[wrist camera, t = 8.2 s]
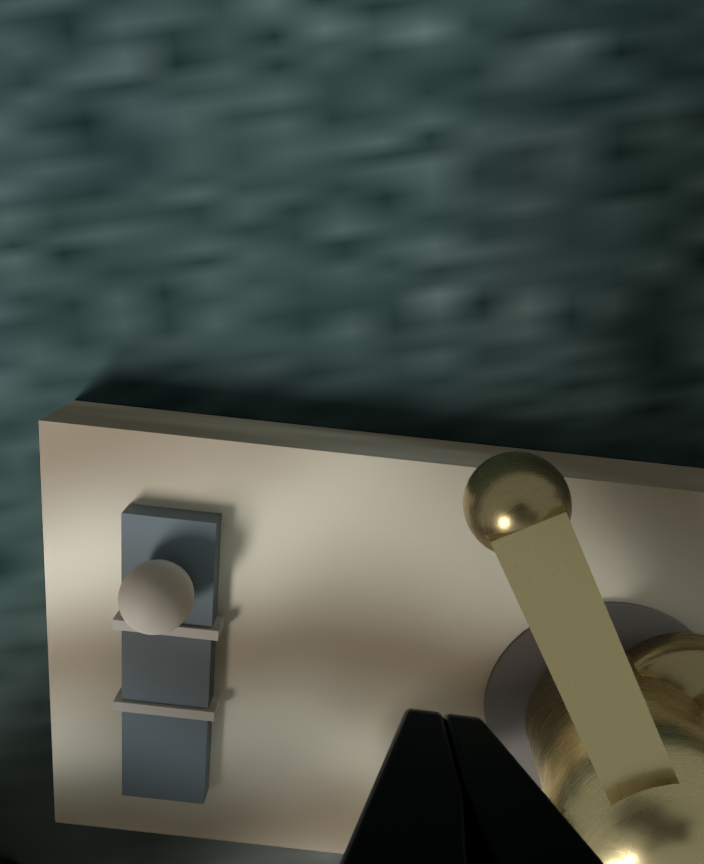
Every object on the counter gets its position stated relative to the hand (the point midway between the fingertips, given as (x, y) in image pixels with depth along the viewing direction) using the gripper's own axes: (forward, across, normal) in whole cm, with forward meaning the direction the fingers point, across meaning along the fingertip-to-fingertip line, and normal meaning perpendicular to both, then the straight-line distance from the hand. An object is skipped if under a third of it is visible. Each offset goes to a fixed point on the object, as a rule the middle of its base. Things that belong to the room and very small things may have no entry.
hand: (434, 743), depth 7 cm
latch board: (+12, -3, +6) cm, 14 cm away
